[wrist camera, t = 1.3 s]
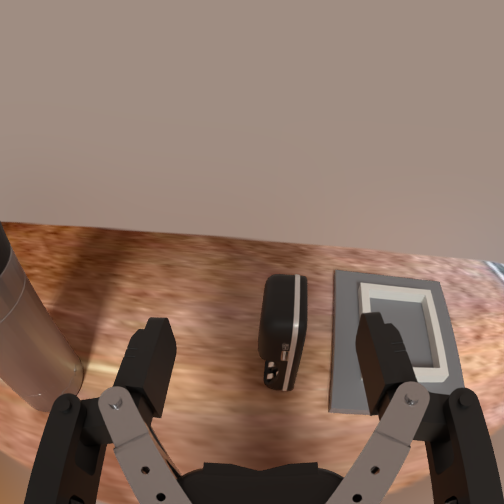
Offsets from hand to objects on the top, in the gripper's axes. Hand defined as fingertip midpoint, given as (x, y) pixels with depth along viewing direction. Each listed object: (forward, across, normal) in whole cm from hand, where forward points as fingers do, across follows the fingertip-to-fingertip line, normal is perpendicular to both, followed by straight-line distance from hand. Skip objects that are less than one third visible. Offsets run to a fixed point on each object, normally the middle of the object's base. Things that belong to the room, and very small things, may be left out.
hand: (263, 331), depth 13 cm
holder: (+15, -15, +19) cm, 29 cm away
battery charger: (+12, -1, +19) cm, 22 cm away
